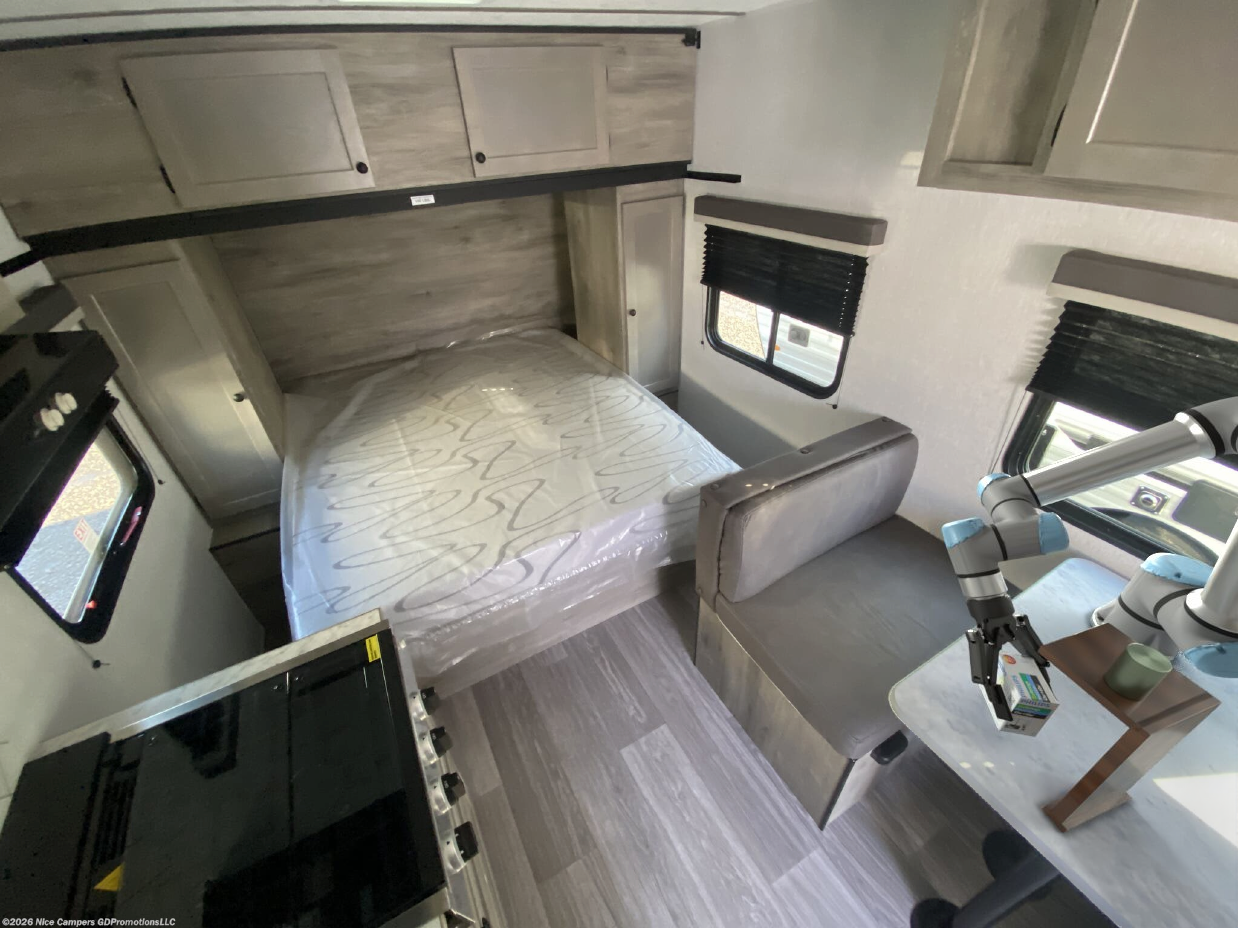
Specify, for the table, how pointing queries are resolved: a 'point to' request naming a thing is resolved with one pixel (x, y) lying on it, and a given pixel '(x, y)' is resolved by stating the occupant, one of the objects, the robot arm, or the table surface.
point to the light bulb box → (1023, 695)
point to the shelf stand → (1124, 714)
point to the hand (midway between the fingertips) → (1027, 710)
